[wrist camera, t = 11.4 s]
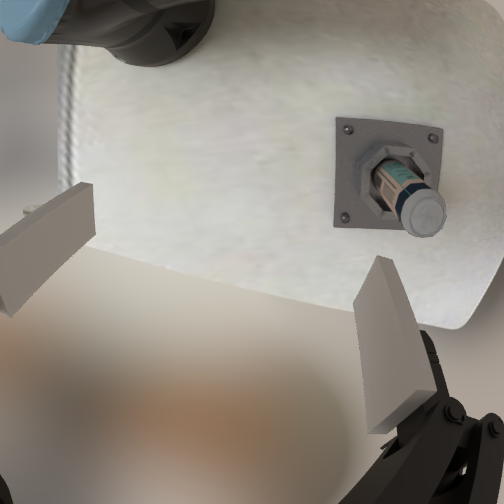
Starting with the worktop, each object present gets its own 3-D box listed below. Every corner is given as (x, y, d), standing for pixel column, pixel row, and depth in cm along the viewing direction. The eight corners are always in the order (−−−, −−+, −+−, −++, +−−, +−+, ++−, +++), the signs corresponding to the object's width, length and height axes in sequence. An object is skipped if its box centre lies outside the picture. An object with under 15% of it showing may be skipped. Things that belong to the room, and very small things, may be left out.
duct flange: (335, 117, 31) (339, 118, 28) (440, 128, 28) (453, 132, 25) (333, 225, 37) (335, 237, 34) (429, 229, 35) (438, 241, 32)
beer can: (387, 202, 34) (420, 251, 24) (364, 175, 33) (394, 216, 23) (413, 179, 32) (458, 220, 22) (392, 150, 30) (434, 181, 20)
